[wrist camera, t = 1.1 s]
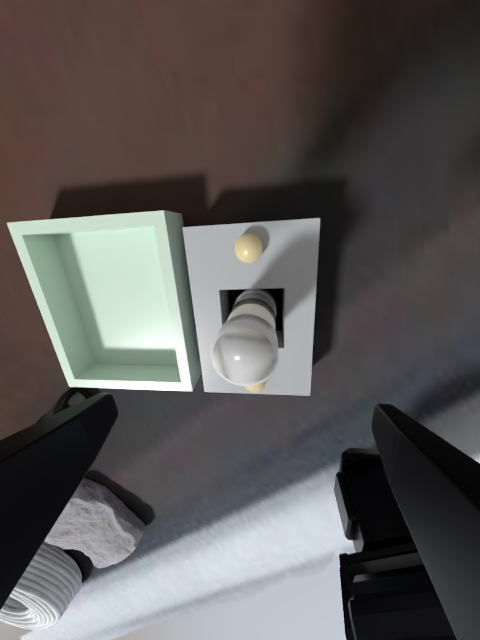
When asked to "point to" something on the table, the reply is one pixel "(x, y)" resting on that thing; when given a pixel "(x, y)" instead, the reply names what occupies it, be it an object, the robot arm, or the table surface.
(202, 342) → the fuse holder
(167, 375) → the tray
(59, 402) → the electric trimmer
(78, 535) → the stone block
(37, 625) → the cable
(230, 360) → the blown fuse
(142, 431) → the table surface
